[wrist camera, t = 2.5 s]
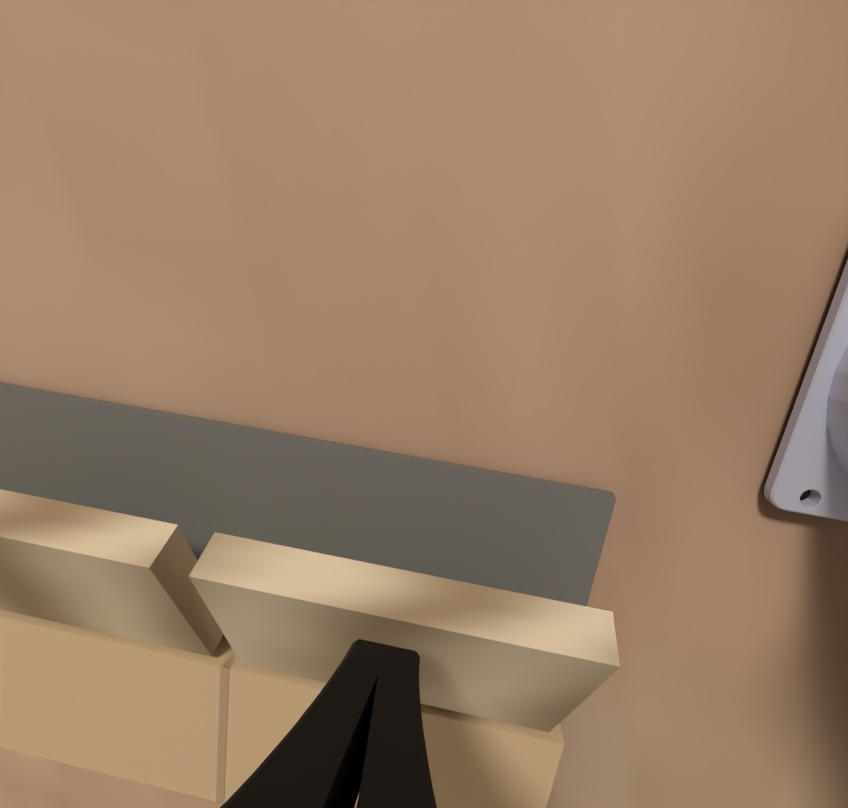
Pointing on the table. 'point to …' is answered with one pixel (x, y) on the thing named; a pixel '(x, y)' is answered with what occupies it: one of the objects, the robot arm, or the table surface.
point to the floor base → (283, 525)
